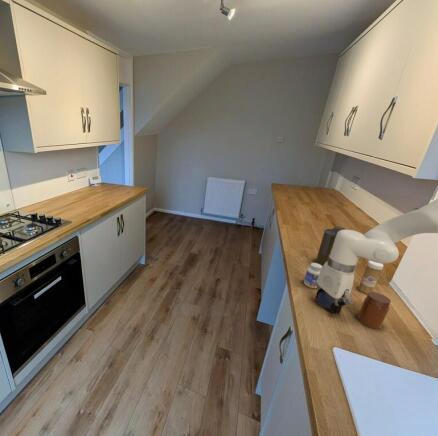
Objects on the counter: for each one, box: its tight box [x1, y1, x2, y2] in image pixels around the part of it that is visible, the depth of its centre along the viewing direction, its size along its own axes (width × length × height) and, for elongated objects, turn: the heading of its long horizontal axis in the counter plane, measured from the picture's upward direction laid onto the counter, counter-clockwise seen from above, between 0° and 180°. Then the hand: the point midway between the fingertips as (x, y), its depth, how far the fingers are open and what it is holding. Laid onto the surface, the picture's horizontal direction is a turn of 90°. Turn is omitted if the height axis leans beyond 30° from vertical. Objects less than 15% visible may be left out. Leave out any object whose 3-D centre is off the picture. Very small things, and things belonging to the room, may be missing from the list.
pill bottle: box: [303, 262, 322, 289], centre depth 100 cm, size 5×5×10 cm
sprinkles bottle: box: [357, 260, 384, 294], centre depth 96 cm, size 5×5×13 cm
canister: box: [314, 226, 346, 267], centre depth 114 cm, size 11×10×20 cm
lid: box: [316, 291, 341, 310], centre depth 88 cm, size 7×7×3 cm
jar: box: [357, 291, 392, 330], centre depth 81 cm, size 6×6×10 cm
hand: (326, 305), depth 89 cm, fingers closed on lid, 6 cm apart
